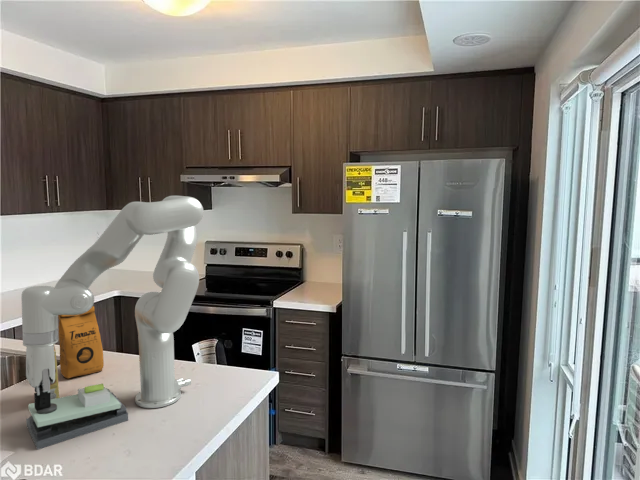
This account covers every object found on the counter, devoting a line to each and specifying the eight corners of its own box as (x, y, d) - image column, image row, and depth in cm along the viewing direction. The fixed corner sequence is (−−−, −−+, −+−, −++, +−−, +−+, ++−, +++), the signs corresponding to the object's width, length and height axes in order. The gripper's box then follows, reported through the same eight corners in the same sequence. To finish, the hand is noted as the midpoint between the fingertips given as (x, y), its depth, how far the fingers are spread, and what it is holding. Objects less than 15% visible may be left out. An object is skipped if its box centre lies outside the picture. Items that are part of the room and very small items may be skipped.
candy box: (60, 403, 132) (56, 351, 130) (43, 406, 129) (39, 354, 127) (57, 391, 139) (54, 342, 137) (41, 394, 137) (37, 345, 135)
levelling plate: (108, 391, 131) (108, 374, 131) (122, 407, 122) (123, 388, 122) (28, 408, 118) (28, 389, 118) (37, 427, 109) (37, 406, 109)
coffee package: (106, 373, 152) (103, 308, 150) (64, 382, 145) (59, 315, 142) (99, 363, 160) (96, 302, 157) (58, 372, 153) (54, 307, 150)
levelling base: (111, 401, 133) (111, 390, 132) (128, 420, 122) (127, 408, 122) (26, 425, 119) (25, 414, 119) (37, 449, 109) (36, 437, 108)
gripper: (17, 331, 116) (19, 401, 118) (28, 348, 105) (30, 424, 107) (51, 326, 121) (53, 393, 123) (65, 341, 110) (66, 415, 112)
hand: (42, 407), depth 115 cm, fingers closed
